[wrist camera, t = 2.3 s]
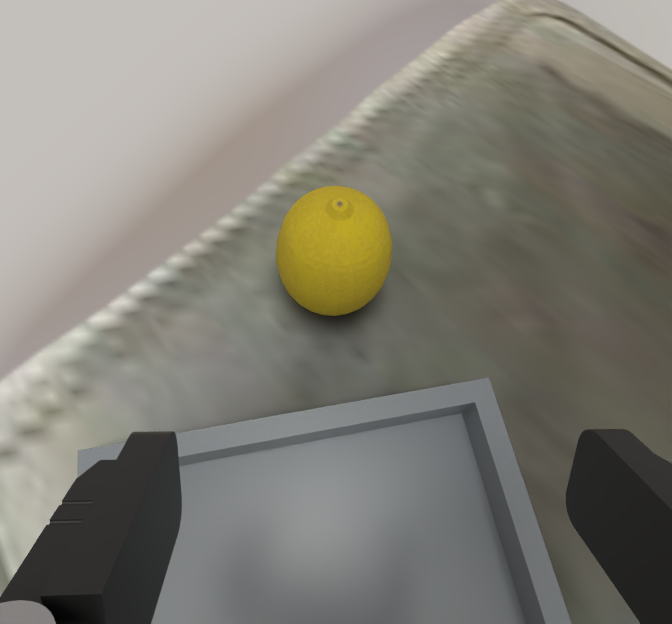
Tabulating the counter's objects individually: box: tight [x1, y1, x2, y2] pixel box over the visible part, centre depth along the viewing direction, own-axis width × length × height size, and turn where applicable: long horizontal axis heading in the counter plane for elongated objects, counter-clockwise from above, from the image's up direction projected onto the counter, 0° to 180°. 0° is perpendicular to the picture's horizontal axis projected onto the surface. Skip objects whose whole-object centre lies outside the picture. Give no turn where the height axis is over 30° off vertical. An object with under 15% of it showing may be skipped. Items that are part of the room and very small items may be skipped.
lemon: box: [276, 186, 392, 316], centre depth 24 cm, size 6×6×8 cm
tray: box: [78, 378, 572, 624], centre depth 20 cm, size 18×14×3 cm
